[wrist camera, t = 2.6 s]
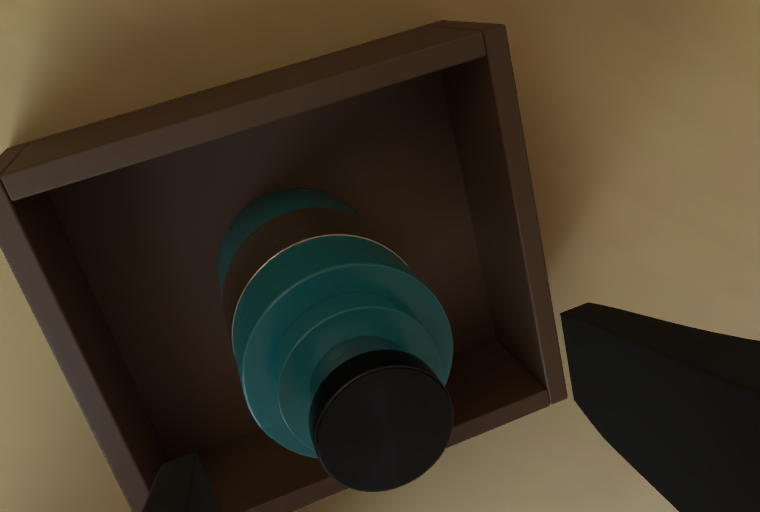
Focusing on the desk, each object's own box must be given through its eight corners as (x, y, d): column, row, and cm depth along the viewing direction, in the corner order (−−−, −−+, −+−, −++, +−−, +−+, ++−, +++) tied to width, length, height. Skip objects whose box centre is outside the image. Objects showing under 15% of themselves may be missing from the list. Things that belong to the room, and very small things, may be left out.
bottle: (245, 358, 21) (300, 577, 13) (192, 216, 20) (218, 369, 11) (389, 305, 22) (524, 481, 14) (351, 165, 20) (481, 273, 12)
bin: (158, 475, 22) (158, 566, 19) (5, 148, 18) (-32, 184, 15) (508, 340, 24) (569, 398, 21) (444, 19, 20) (506, 23, 17)
